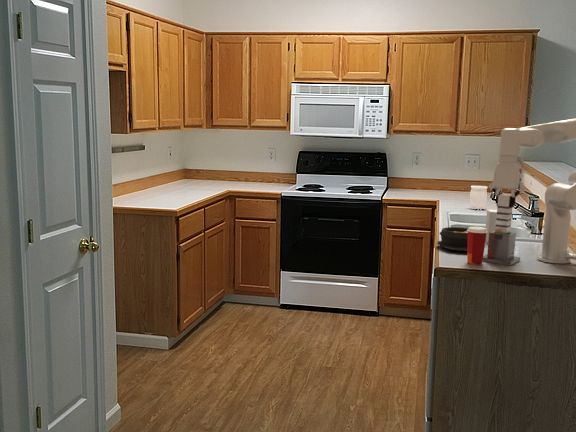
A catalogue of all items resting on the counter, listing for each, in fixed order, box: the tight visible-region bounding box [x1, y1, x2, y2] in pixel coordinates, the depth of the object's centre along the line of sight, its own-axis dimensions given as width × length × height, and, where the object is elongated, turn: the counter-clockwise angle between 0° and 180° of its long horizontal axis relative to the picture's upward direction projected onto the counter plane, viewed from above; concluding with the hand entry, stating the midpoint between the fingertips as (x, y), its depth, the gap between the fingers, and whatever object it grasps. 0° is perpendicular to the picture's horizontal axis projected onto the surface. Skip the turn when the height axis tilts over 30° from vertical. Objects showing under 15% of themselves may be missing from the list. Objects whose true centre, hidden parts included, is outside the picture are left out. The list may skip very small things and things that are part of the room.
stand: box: [482, 231, 521, 267], centre depth 251 cm, size 12×12×12 cm
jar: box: [469, 184, 489, 211], centre depth 403 cm, size 11×10×15 cm
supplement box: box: [485, 209, 497, 245], centre depth 290 cm, size 9×9×15 cm
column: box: [495, 193, 513, 235], centre depth 249 cm, size 4×4×18 cm
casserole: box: [436, 226, 469, 252], centre depth 273 cm, size 25×19×8 cm
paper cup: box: [466, 226, 487, 266], centre depth 245 cm, size 8×8×14 cm
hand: (505, 205), depth 248 cm, fingers closed on column, 4 cm apart
